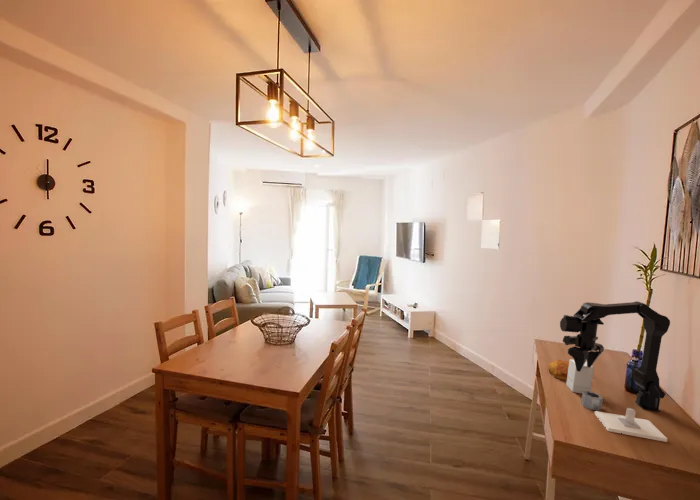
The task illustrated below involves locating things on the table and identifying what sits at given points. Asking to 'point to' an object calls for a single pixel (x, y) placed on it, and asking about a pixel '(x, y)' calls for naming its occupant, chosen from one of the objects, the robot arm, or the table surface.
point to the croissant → (559, 369)
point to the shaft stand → (630, 425)
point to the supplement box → (579, 377)
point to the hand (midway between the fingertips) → (583, 369)
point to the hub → (592, 400)
